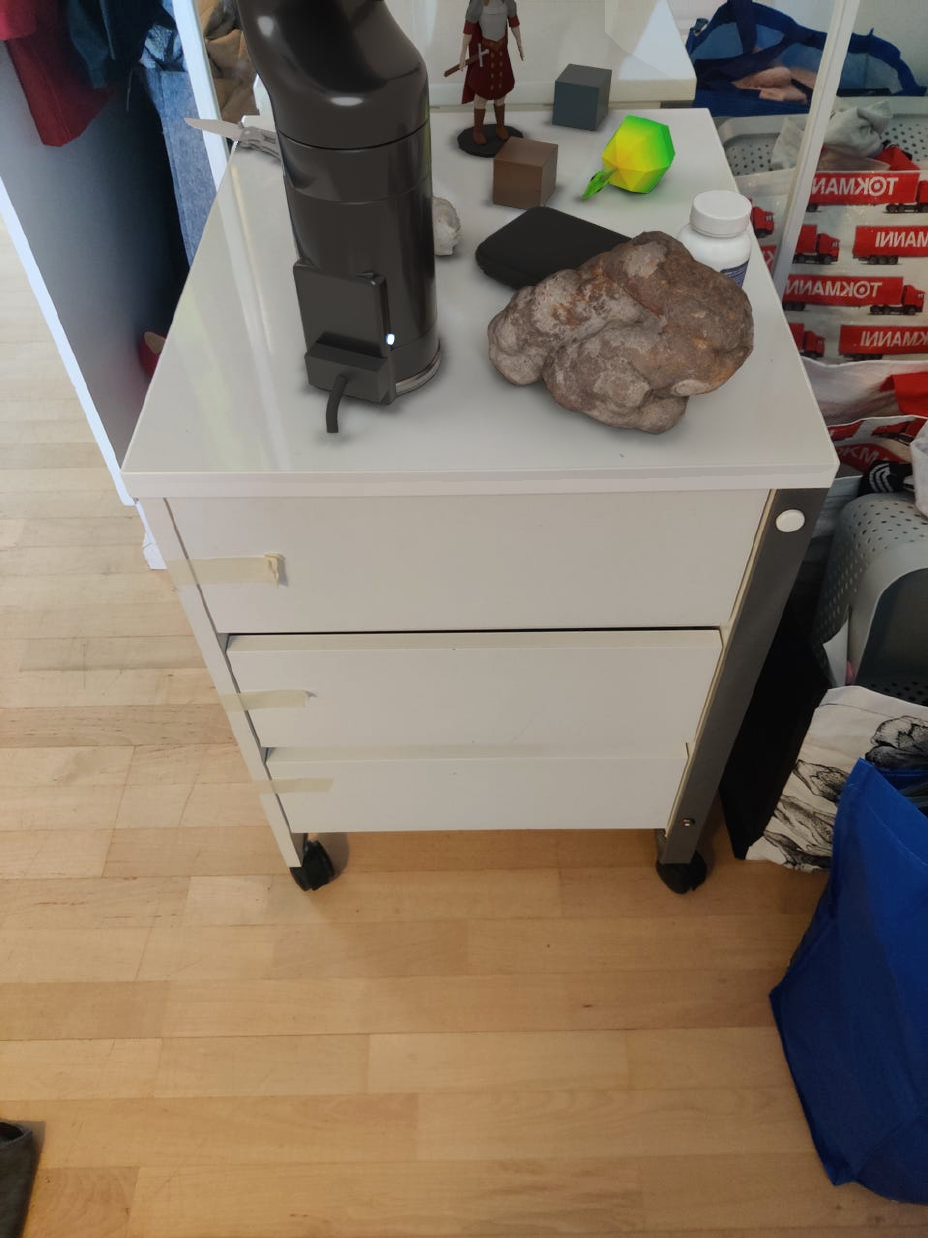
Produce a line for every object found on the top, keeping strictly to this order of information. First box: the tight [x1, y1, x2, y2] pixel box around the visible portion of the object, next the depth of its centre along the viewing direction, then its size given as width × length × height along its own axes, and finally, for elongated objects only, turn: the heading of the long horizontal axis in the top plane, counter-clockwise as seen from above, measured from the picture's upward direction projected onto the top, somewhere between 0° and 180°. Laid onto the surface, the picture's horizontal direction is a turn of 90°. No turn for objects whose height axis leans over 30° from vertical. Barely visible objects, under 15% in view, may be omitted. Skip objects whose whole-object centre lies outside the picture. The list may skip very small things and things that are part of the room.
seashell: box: [433, 195, 462, 257], centre depth 77 cm, size 4×16×4 cm, turn 37°
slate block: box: [551, 63, 613, 132], centre depth 90 cm, size 4×4×4 cm
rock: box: [486, 230, 755, 435], centre depth 60 cm, size 18×12×10 cm
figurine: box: [443, 0, 525, 158], centre depth 82 cm, size 7×7×15 cm
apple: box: [581, 114, 676, 201], centre depth 80 cm, size 7×6×9 cm
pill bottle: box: [675, 189, 753, 289], centre depth 65 cm, size 5×5×10 cm
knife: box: [183, 117, 280, 160], centre depth 87 cm, size 2×18×3 cm
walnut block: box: [492, 136, 559, 211], centre depth 80 cm, size 4×4×4 cm
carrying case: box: [474, 205, 634, 290], centre depth 71 cm, size 11×3×15 cm
